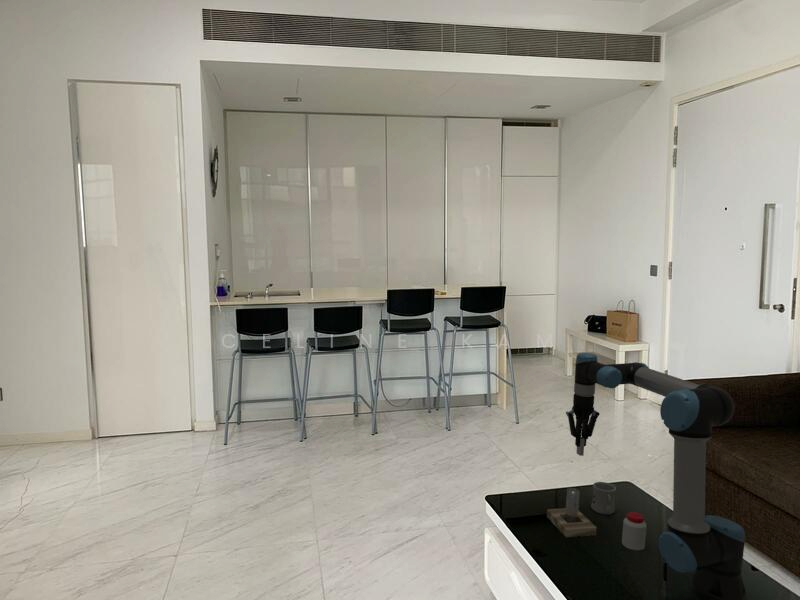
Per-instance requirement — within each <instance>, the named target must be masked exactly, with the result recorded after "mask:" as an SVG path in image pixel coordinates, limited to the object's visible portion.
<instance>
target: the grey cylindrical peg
mask: <svg viewBox="0 0 800 600" xmlns="http://www.w3.org/2000/svg"><path fill="white" fill-rule="evenodd" d="M580 493H581V491H580V490H579V489H578V488H575V487H569V488H567V489H566V500H565V501H566V502H565V508H566V512H565V521H566V522H567V523H575V522H578V510H579V508H580ZM579 511H580V510H579Z"/></svg>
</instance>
